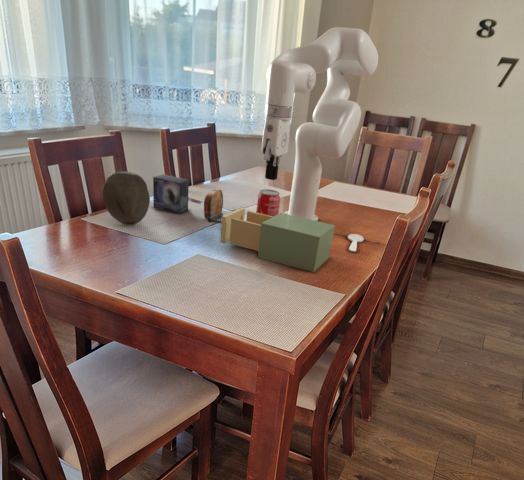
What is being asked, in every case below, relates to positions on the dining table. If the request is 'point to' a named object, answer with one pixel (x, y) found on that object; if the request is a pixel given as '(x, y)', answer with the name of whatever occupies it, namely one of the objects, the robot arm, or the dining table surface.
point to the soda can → (268, 202)
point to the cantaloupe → (126, 197)
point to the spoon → (354, 241)
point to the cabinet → (295, 241)
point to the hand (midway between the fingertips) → (270, 178)
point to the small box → (170, 193)
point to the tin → (213, 203)
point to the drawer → (240, 228)
